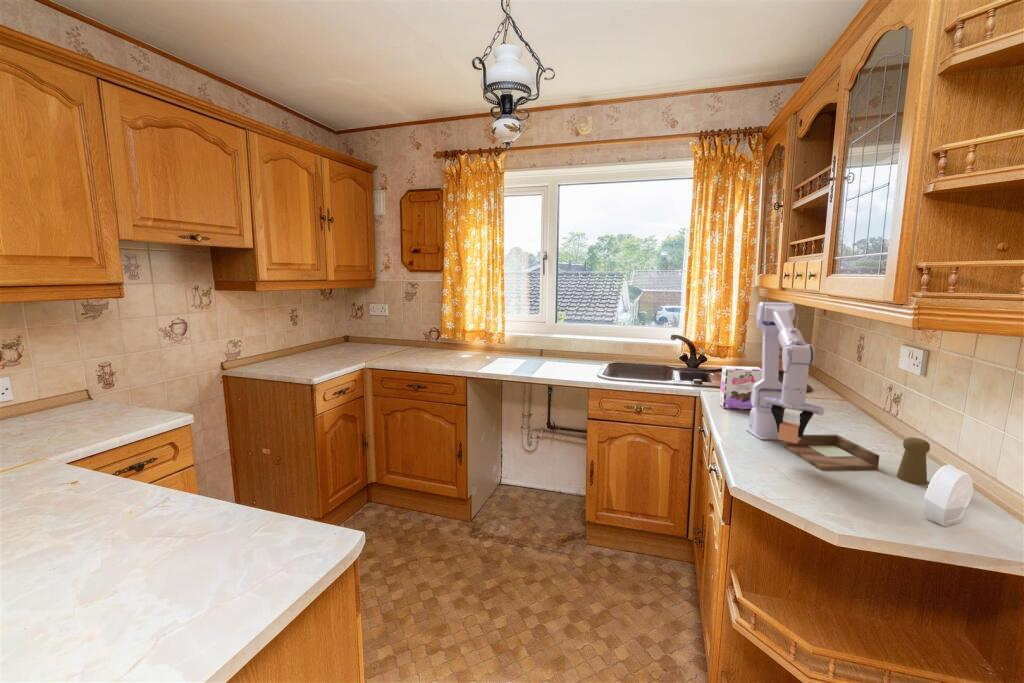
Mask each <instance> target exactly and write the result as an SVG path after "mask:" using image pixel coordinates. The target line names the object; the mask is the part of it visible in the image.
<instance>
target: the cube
mask: <svg viewBox="0 0 1024 683" xmlns="http://www.w3.org/2000/svg"><path fill="white" fill-rule="evenodd" d="M799 427H800V422H795V421H794V422H793V421H790V420H785V419H783V422H782V423H780V426H779V437H778V439H777V440H779V441H784V442H785V441H788V442H792V443H796V444H797V443H798V442H799V440H800V439H801V438H800V437H798V433H799Z"/></svg>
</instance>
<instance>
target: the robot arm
mask: <svg viewBox="0 0 1024 683" xmlns="http://www.w3.org/2000/svg"><path fill="white" fill-rule="evenodd" d="M755 313H756V316H755V317H756V321H755V322H756V324H755V325H756V327H757V329H760V330H761V333H762V334H761V335H762V350H761V352H762V354H761V356H762V357H761V358H762V359H761V369H762V379H761V380H760V381H758V382H757V383H755V384H754V385H753V387H752V393H751V404H752V406H753V408H752V409H751V410H749V411H750V412H749V421H748V427H747V428H745V430H746V431H747V432H749V433H751V434H752V435H753V436H755V437H757V438H758V439H759V440H765V441H766V440H779V439H778V437H779V426H780V423H782V422H783V421H784V415H785V410H787V409H788V410H793V411H799V412H800V413H799V423H800V427H799V433H798V437H800V438H801V437H802V436H803V435H804V433H805V430H806V428H807V426H808V424H809V422H810V420H811V419H812V417H814V414H816V415H818V416H822V417H823V416H824V414H825V406H820V405H817V404H811V403H807V402H806V398H807V390H808V381H809V380H808V377H809V369H810V367H811V366H812V365H813V363H814V359H815V350H814V347H813V345H812V344H809V343H807V342H806V341H805V339H804V337H803V335H802V333H801V331H800V330H799V329H798V328H797V327H794V323H793V321H794V319H795V317H796V306H795V304H794V302H791V301H790V302H764V301H761V302H759V303H758V305H757V307H756V312H755ZM780 345H781V349H782V351H781V360H782V370H783V379H782V382H781V381H779V376H780V375H779V374H780V373H779V366H780V365H779V363H780V362H779V360H780V357H779V356H780V355H779V354H780ZM761 388H762V390H761Z"/></svg>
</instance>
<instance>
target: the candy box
mask: <svg viewBox="0 0 1024 683" xmlns="http://www.w3.org/2000/svg"><path fill="white" fill-rule="evenodd" d="M761 379H762V368H760V367H759V366H731V365H722V367H721V376H720V390H719V403H718V404H719V405H720V406H721V408H722V409H724V408H727V409H726V410H743V409H752V408H753V406H752V404H751V393H752V387H753V385H754V384H755V383H757V382H758V381H760V380H761ZM761 390H763V388H761Z"/></svg>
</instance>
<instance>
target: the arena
mask: <svg viewBox="0 0 1024 683" xmlns="http://www.w3.org/2000/svg"><path fill="white" fill-rule="evenodd" d="M784 448H785V449H786V450H788V451H790V452H791V453H793V454H795V455H796V456H797V457H799V458H801V460H803V461H806V462H807V463H809V464H810V465H812V466H813V467H815V468H816V469H818V470H819V471H822V470H824V471H826V470H827V471H828V470H829V471H832V470H833V471H834V470H836V471H838V470H841V471H842V470H843V471H844V470H846V471H847V470H878V469H879V462H880V455H879V454H878V453H876V452H873V451H871V450H870V449H867V448H866V447H863V446H861V445H859V444H857V443H856V442H854V441H851V440H849V439H848V438H845V437H843V436H841V435H839V434H803V436H802V437H801V439H800V440H799V442H798V443H797V444H796V443H792V442H788V441H784Z"/></svg>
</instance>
